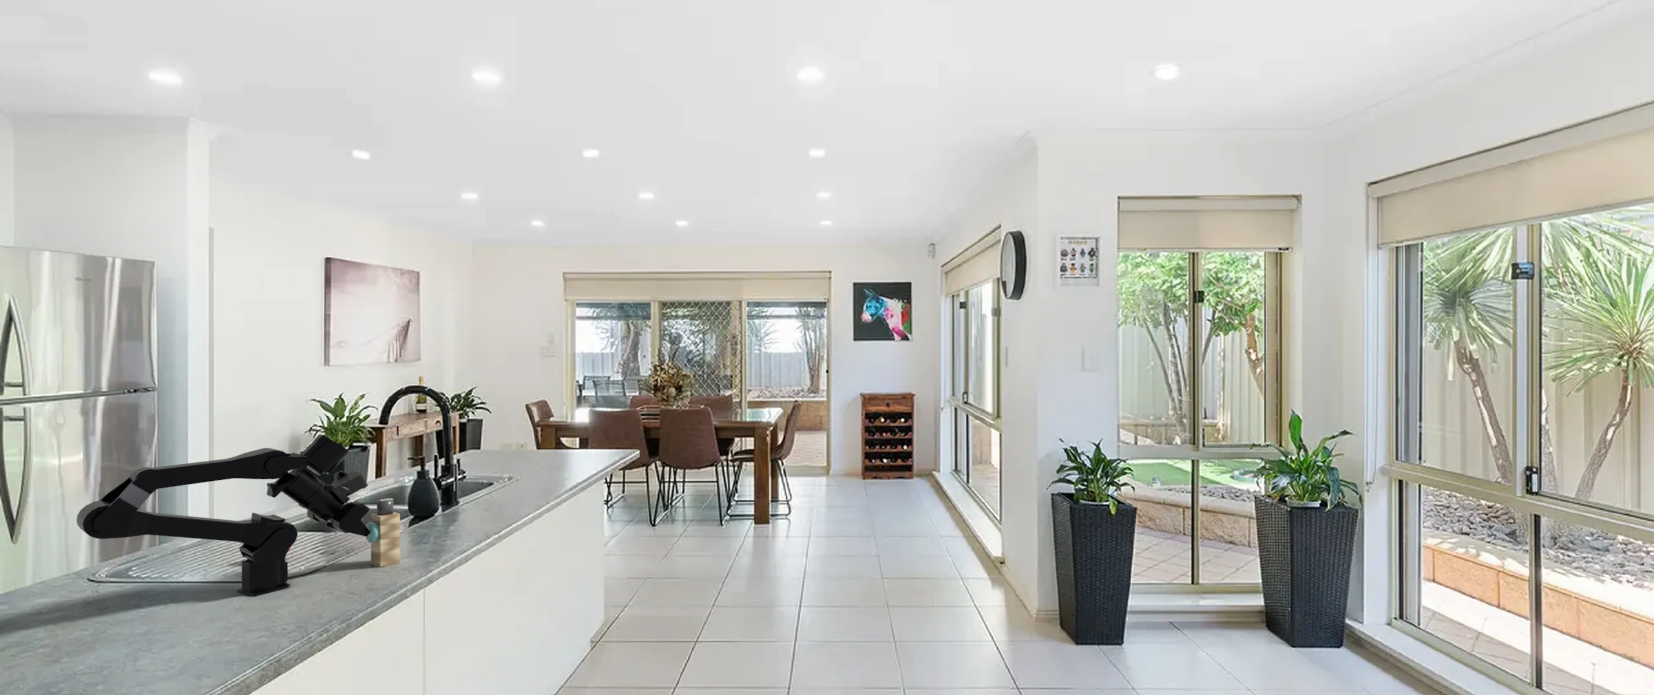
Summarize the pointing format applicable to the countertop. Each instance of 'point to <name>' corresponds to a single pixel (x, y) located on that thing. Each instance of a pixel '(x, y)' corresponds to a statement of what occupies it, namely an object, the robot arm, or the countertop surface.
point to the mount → (386, 540)
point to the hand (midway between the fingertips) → (368, 534)
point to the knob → (372, 532)
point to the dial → (385, 506)
